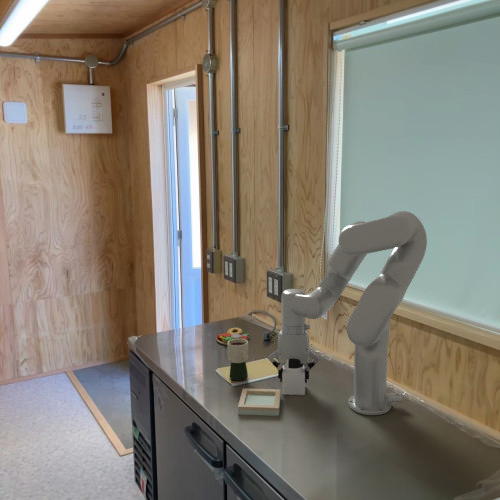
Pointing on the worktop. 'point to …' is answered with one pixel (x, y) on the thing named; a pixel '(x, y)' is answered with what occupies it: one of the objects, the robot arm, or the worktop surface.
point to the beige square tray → (259, 402)
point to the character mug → (238, 358)
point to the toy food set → (231, 335)
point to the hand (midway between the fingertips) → (293, 380)
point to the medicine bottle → (293, 378)
